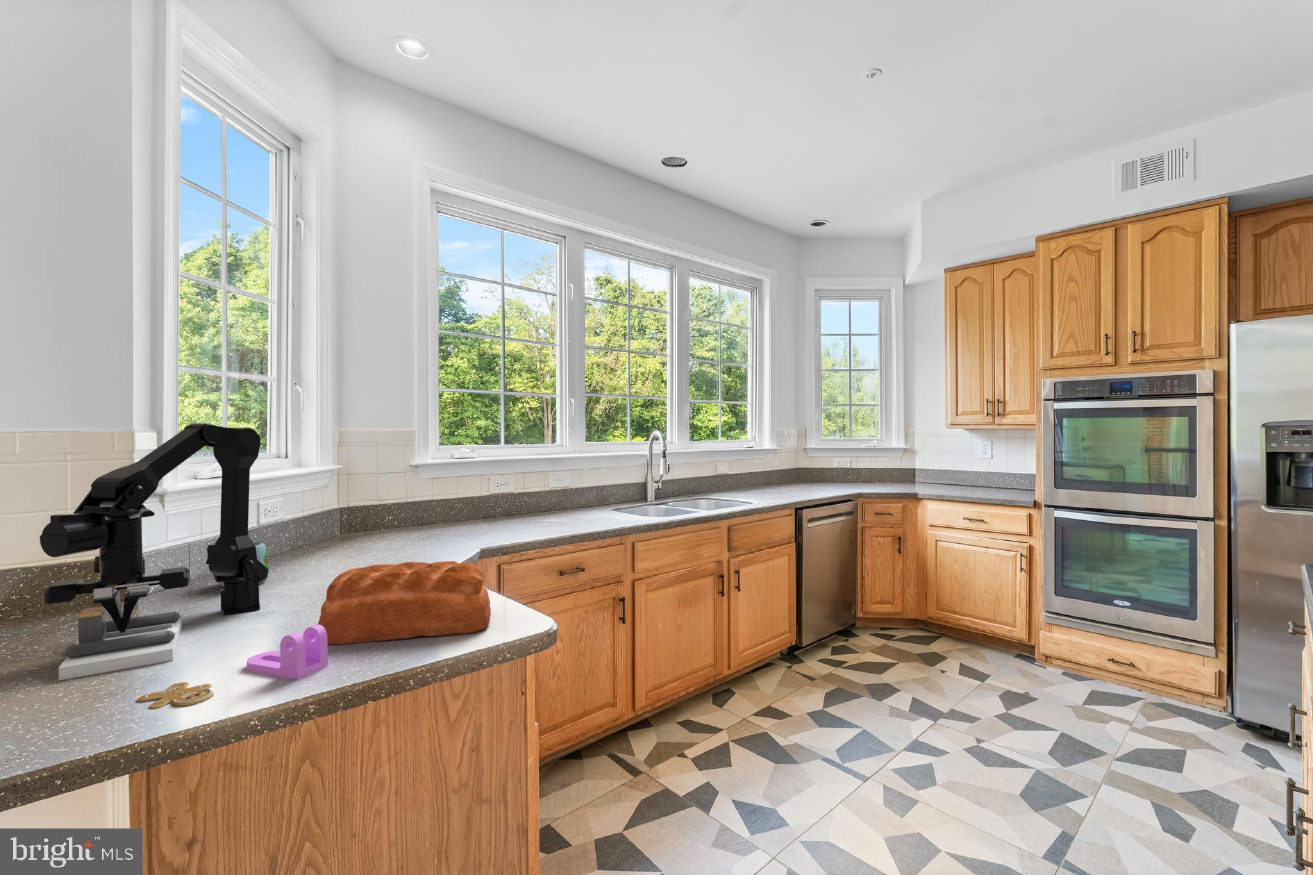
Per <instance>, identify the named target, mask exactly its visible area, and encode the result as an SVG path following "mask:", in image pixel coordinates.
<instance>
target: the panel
mask: <svg viewBox="0 0 1313 875" xmlns="http://www.w3.org/2000/svg"><path fill="white" fill-rule="evenodd" d="M182 627H183V616H182V615H180V613H179V612H177V611H172V612H171V611H170V612H165V613H158V614H157V613H156V614H151V615H143V616H142V615H141V616H136V617H131V618H130V621H129V623H128V626H127V629H126V631H125V633H120V631H119V630H118V628H117V626H116V624H115V623H114V621H113V620H108V621H107V620H106V639H105V640H104V641H97V642H91V643H85V644H79V640H77V642H75V643H74V644H73V645H70V646H68V647H67V648H66V649H65V651H64V655H65V658H64V660H63V661H62V663H60V665H59V666H58V681H63V680H68V679H69V680H70V679H75V678H81V677H86V676H92V675H93V676H94V675H99V674H104V673H110V672H116V671H120V670H127V669H131V668H137V667H143V666H149V665H154V664H155V665H156V664H161V663H165V662H172V661H174V659H175V655H176V651H177V647H178V642H179V638H180V636H181V635H180V634H181V630H182Z"/></svg>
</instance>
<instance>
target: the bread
mask: <svg viewBox="0 0 1313 875" xmlns="http://www.w3.org/2000/svg"><path fill="white" fill-rule="evenodd" d="M485 581H486V579H485V574H484V570H481V569H480V568H479V567H477V566H476V565H475V564H473V563H470V562H468V561H463V562H460V563H459V562H457V561H455V560H454V561H453V560H452V561H450V560H449V561H448V560H447V561H434V562H431V563H429V562H424V561H423V562H422V561H421V562H419V561H407V562H402V563H397V564H395V563H394V564H388V563H387V564H385V563H384V564H383V563H382V564H381V563H380V564H373V565H367V566H364V567H355V568H350V569H349V570H346V571H344V572H342V573H340V574H338V575H337V576H336V577H334V579H333V580H332V581H331V583H329V585H328V587H327V588H326V595H325V596H326V598H325V600H324V602H323V603H322V605H321V608H320V616H319V619H318V623H317V624H318V625H321V626H323V627H324V628H325V630H326V632H327V645H348V644H359V643H369V642H376V641H377V642H378V641H381V642H382V641H390V640H391V641H392V640H401V639H412V638H417V637H420V636H421V637H422V636H424V637H436V636H437V637H439V636H440V637H441V636H446V637H447V636H454V635H455V636H456V635H462V634H464V635H465V634H470V633H471V634H473V633H477V632H481V631H484V630H485V629H487V628H488V626H489V624H490V621H491V615H492V609H491V601H490V596H489V591H488V589H487V588H486V586H485V585H484V582H485Z"/></svg>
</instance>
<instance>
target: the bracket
mask: <svg viewBox="0 0 1313 875" xmlns="http://www.w3.org/2000/svg"><path fill="white" fill-rule="evenodd" d="M279 646H280V647H279V650H274V651H266V652H261V653H258V654H255V655H251V657H249V658H247V659H246V670H247V671H248V670H249V672H253V673H259V674H264V675H269V676H275V677H281V678H287V679H291V680H301V679H302V678H305V677H307V676H309V675H312V674H314V673H317V672H319V671H320V670H322V669H325V668H327V667H328V665H329V664H328V660H329V659H328V644H327V632H326V630H325V628H324V627H323V626H321V625H318V623H317V624H314V625H311V626H309V627H307V628H306V629H305V630H304V631H303V634H301V633H299V632H292V633H290V634H287V635H284V636H283V637H282V638H281V640H280V644H279Z"/></svg>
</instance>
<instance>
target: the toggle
mask: <svg viewBox="0 0 1313 875" xmlns="http://www.w3.org/2000/svg"><path fill="white" fill-rule="evenodd" d="M106 621H107V610H106V609H105V608H104V607H103V606H97V607H90V608H84V609H82V610H81V612H80V613H78V618H77V627H78V629H77V630H78V631H77V632H78V636H77V637H78V640H79V644H85V643H91V642H97V641H104V640H105V639H106ZM78 640H77V641H78Z"/></svg>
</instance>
